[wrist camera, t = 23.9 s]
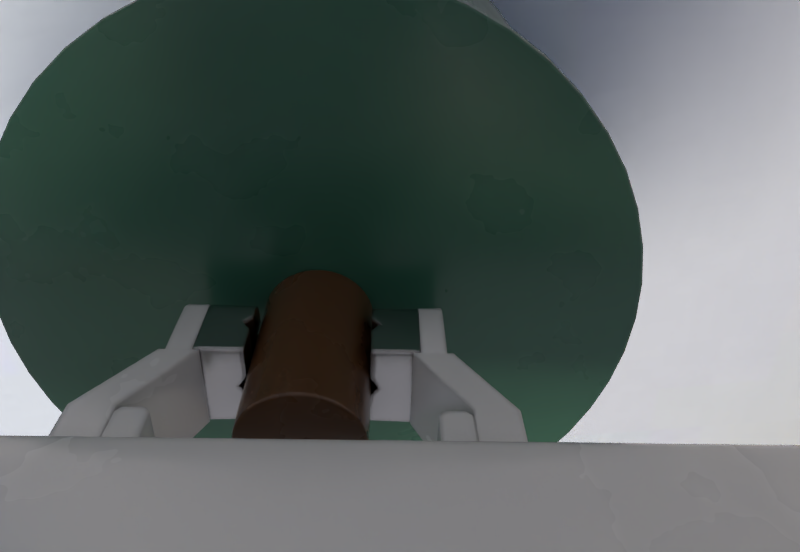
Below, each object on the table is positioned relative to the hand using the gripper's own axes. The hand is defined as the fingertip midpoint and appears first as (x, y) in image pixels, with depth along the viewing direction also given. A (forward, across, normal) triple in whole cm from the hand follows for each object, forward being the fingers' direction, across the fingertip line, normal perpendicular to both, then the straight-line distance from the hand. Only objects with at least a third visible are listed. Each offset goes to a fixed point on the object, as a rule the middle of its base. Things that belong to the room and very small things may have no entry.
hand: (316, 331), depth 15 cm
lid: (+1, 0, 0) cm, 1 cm away
